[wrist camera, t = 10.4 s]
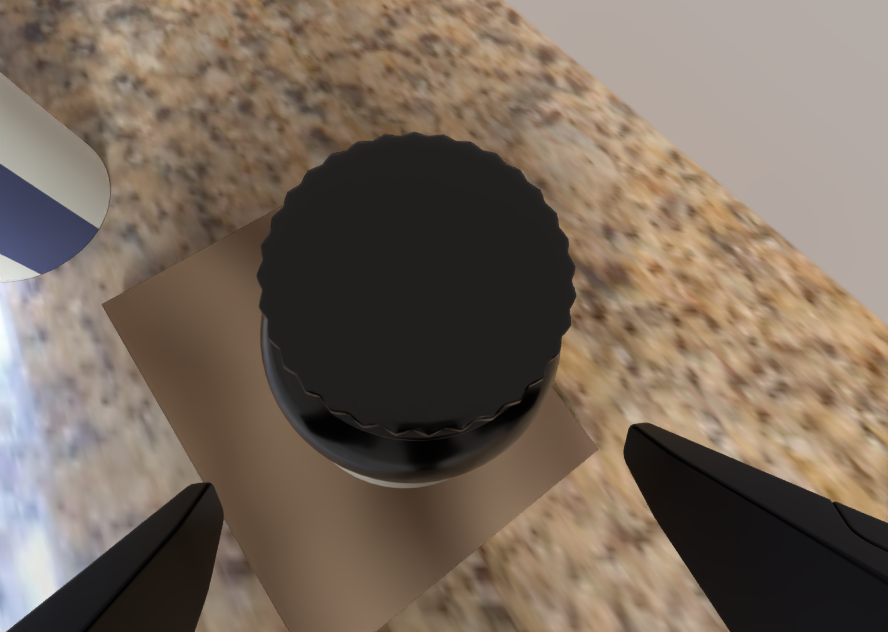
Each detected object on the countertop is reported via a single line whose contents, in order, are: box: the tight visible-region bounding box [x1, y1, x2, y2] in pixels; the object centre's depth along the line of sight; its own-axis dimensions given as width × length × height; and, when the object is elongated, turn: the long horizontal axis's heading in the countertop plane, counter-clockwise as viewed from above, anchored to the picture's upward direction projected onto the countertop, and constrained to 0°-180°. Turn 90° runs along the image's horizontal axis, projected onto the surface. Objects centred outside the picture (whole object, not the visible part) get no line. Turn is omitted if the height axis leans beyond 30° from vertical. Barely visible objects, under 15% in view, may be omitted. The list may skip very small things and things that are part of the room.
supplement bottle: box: [256, 132, 576, 483], centre depth 12 cm, size 7×7×12 cm
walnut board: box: [102, 205, 598, 632], centre depth 19 cm, size 13×16×2 cm
